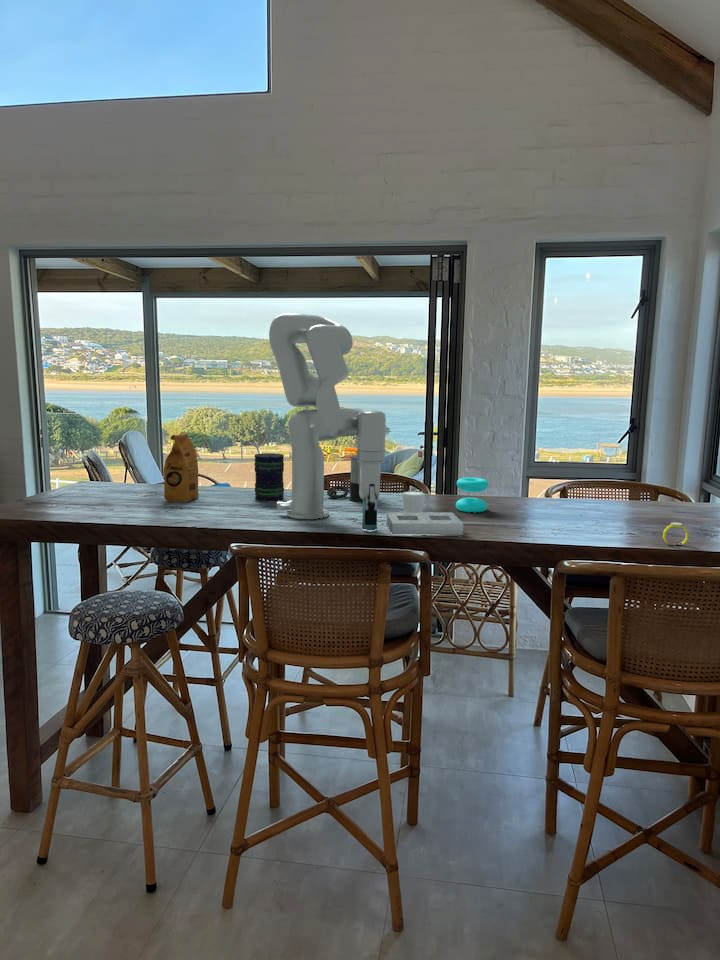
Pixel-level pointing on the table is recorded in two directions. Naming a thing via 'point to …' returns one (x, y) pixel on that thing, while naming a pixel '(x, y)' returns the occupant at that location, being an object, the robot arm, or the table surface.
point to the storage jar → (269, 477)
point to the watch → (675, 526)
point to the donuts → (472, 486)
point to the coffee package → (181, 471)
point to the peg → (368, 527)
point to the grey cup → (413, 501)
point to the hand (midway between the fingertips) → (369, 521)
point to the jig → (424, 523)
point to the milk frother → (354, 483)
